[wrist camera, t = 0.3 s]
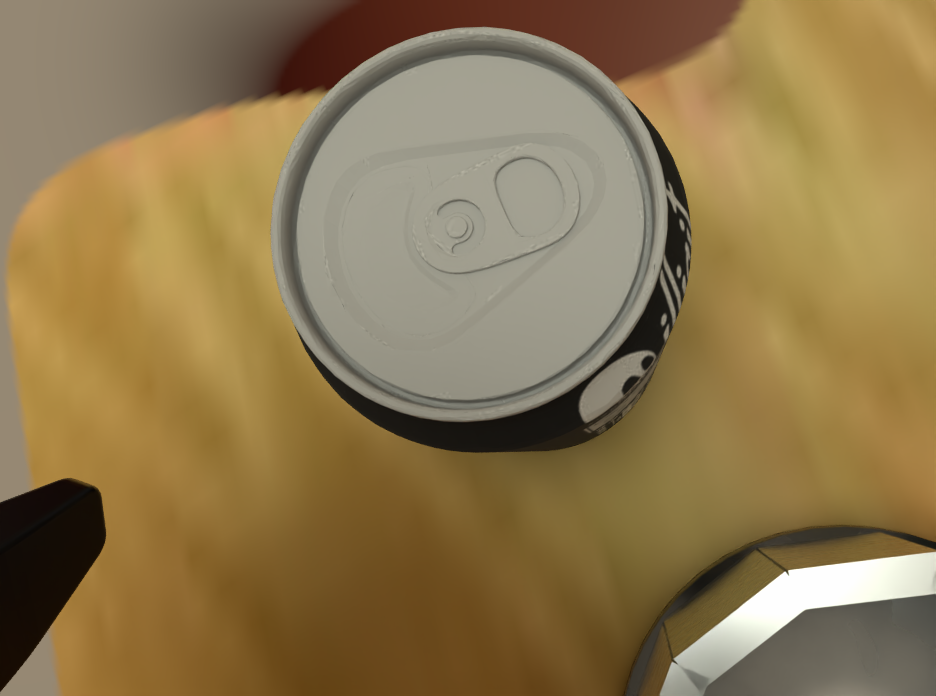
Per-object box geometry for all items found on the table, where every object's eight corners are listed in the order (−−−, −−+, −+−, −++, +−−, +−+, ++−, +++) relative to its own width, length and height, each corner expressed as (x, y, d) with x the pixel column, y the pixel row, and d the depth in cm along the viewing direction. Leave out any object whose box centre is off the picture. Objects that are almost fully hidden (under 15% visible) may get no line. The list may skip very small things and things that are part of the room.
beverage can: (391, 272, 25) (185, 113, 13) (603, 179, 24) (587, -80, 12) (474, 487, 24) (329, 523, 12) (699, 397, 23) (782, 341, 11)
